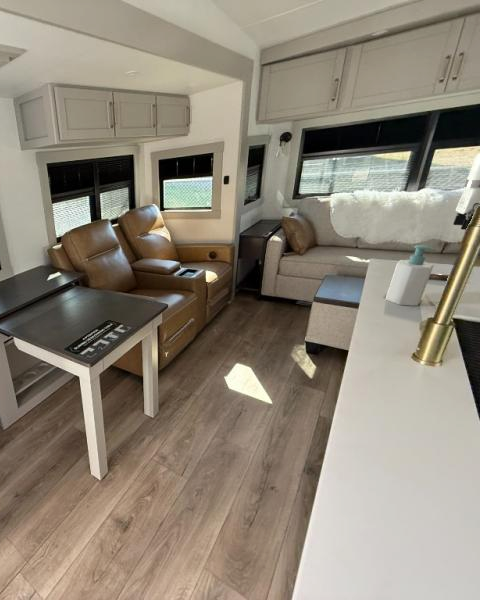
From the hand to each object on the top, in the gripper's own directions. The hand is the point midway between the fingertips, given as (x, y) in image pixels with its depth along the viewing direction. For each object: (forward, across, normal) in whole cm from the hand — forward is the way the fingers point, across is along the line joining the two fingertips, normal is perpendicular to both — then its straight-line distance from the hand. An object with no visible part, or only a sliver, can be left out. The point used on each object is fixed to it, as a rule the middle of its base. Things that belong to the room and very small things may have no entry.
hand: (462, 227), depth 133 cm
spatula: (+22, +7, -6) cm, 24 cm away
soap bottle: (+22, +38, -19) cm, 48 cm away
